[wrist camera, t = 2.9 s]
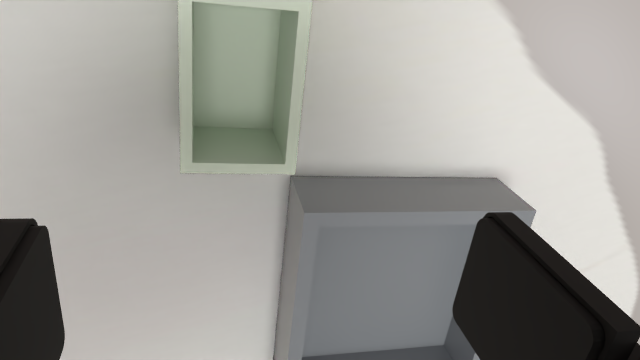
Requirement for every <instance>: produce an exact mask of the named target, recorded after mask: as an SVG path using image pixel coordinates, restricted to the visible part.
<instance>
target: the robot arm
mask: <svg viewBox="0 0 640 360" xmlns="http://www.w3.org/2000/svg"><path fill="white" fill-rule="evenodd" d="M452 312H453V317H454V320H455V322H456V323H457V325H458V326H459V328H460V330H461V331H462V333H463V334H464V336H465V337H466V339H467V340H468V342H469V343H470V345H471V346H472V348H473V350H474V351H475V353H476V354H477V356H478V357H479V359H480V360H640V345H639V344H638V343H637V341H638V339H639V337H640V326H639V325H638V324H637V323H635V321H634V320H632V319H631V318H630V317H629V316H628V315H627V314H626V313H625V312H623V311H622V310H621V309H620V308H619V307H618V306H617V305H616V304H615V303H613V302H612V301H611V300H610V299H609V298H608V297H607V296H606V295H605V294H603V293H602V292H601V291H600V290H599V289H598V288H597V287H596V286H594V285H593V284H592V283H591V282H590V281H589V280H588V279H587V278H586V277H584V276H583V275H582V274H581V273H580V272H579V271H578V270H577V269H576V268H574V267H573V266H572V265H571V264H570V263H569V262H568V261H567V260H565V259H564V258H563V257H562V256H561V255H560V254H559V253H558V252H557V251H555V250H554V249H553V248H552V247H551V246H550V245H549V244H548V243H547V242H545V241H544V240H543V239H542V238H541V237H540V236H539V235H538V234H536V233H535V232H534V231H533V230H532V229H531V228H530V227H529V226H528V225H526V224H525V223H524V222H523V221H522V220H521V219H520V218H519V217H518V216H516V215H515V214H514V213H512V212H489V213H487V214H485V216H484V217H483V218H482V219H480V220H479V221H478V222H477V225H476V228H475V232H474V235H473V238H472V242H471V245H470V249H469V252H468V255H467V259H466V262H465V266H464V269H463V272H462V276H461V279H460V283H459V286H458V289H457V293H456V296H455V300H454V303H453V308H452ZM64 339H65V333H64V325H63V319H62V313H61V307H60V300H59V294H58V288H57V282H56V276H55V269H54V263H53V257H52V251H51V245H50V238H49V233H48V229H47V227H46V226H38V225H37V222H36V220H34V219H0V360H59V359H60V356H61V353H62V350H63V346H64Z"/></svg>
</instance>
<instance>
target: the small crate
mask: <svg viewBox="0 0 640 360" xmlns="http://www.w3.org/2000/svg"><path fill="white" fill-rule="evenodd" d="M312 2H313V0H178V54H179V125H180V173H185V174H291V175H295V172H296V162H297V152H298V142H299V132H300V122H301V112H302V102H303V92H304V82H305V72H306V62H307V52H308V42H309V32H310V22H311V12H312Z"/></svg>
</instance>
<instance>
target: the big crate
mask: <svg viewBox="0 0 640 360" xmlns="http://www.w3.org/2000/svg"><path fill="white" fill-rule="evenodd" d="M489 212H512V213H514V214H515V215H516V216H518V217H519V218H520V219H521V220H522V221H523V222H524V223H525V224H526V225H528V226H529V227H531V224H532V222H533V219H534V216H535V213H536V210H535V209H534V208H533V207H531V206H530V205H529V204H528V203H526V202H525V201H524V200H523V199H522V198H520V197H519V196H518V195H517V194H515V193H514V192H513V191H512V190H511V189H509V188H508V187H507V186H506V185H504V184H503V183H502V182H501V181H500V180H498V179H497V178H433V177H315V176H291V179H290V190H289V200H288V211H287V221H286V231H285V242H284V252H283V263H282V273H281V283H280V294H279V304H278V315H277V325H276V335H275V346H274V356H273V360H480V359H479V357H478V356H477V354H476V353H475V351H474V350H473V348H472V346H471V345H470V343H469V342H468V340H467V339H466V337H465V336H464V334H463V333H462V331H461V330H460V328H459V326H458V325H457V323H456V322H455V320H454V317H453V312H452V308H453V303H454V300H455V296H456V293H457V289H458V286H459V283H460V279H461V276H462V272H463V269H464V266H465V262H466V259H467V255H468V252H469V249H470V245H471V242H472V238H473V235H474V232H475V228H476V225H477V222H478V221H479V220H480V219H482V218H483V217H484V216H485V214H487V213H489Z"/></svg>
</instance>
